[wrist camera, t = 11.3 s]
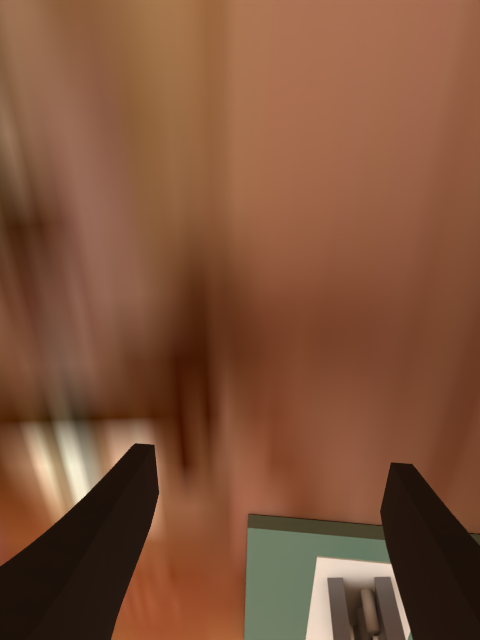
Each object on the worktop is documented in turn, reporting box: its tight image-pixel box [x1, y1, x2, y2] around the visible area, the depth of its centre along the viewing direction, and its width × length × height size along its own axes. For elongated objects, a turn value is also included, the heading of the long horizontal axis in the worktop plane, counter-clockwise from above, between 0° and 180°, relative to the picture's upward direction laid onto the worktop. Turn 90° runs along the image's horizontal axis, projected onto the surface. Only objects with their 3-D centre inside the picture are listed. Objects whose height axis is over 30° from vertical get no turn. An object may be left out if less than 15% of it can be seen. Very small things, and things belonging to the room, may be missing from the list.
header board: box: [244, 514, 480, 640], centre depth 27 cm, size 16×14×4 cm
